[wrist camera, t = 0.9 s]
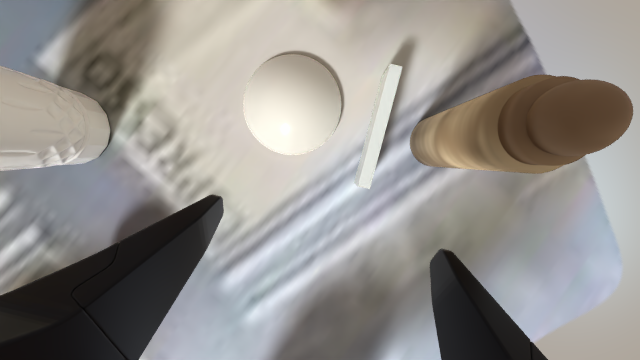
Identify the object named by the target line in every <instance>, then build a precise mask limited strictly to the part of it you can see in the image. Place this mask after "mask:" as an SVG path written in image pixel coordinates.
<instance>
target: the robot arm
mask: <svg viewBox="0 0 640 360" xmlns="http://www.w3.org/2000/svg"><path fill="white" fill-rule="evenodd" d="M223 212H224V209H223V199H222V197H221V196H217V195H209V196H207V197H205V198H203V199H201V200H200V201H198V202H196V203H194V204H192V205H190V206H188V207H186V208H184V209H182V210H180V211H178V212H176V213H174V214H172V215H170V216H168V217H166V218H165V219H163V220H161V221H159V222H157V223H155V224H153V225H151V226H149V227H147V228H145V229H143V230H141V231H139V232H137V233H135V234H133V235H131V236H129V237H128V238H126V239H124V240H122V241H120V243H116V244H114V245H112V246H110V247H108V248H106V249H104V250H102V251H100V252H98V253H96V254H94V255H92V256H90V257H88V258H86V259H83V260H81V261H79V262H77V263H75V264H72V265H70V266H68V267H66V268H63V269H61V270H59V271H57V272H54V273H52V274H50V275H47V276H45V277H43V278H41V279H38V280H36V281H34V282H31V283H29V284H27V285H25V286H22V287H20V288H18V289H15V290H13V291H11V292H8V293H6V294H3V295H1V296H0V360H139V358H140V356H141V355H142V353H143V352H144V350H145V348H146V347H147V345H148V343H149V342H150V340H151V339H152V337H153V335H154V334H155V332H156V331H157V329H158V327H159V326H160V324H161V322H162V321H163V319H164V318H165V316H166V314H167V313H168V311H169V310H170V308H171V306H172V305H173V303H174V301H175V300H176V298H177V297H178V295H179V293H180V292H181V290H182V289H183V287H184V285H185V284H186V282H187V280H188V279H189V277H190V276H191V274H192V272H193V271H194V269H195V268H196V266H197V264H198V263H199V261H200V259H201V258H202V256H203V255H204V253H205V251H206V250H207V248H208V246H209V244H210V242H211V239H212V237H213V235H214V233H215V231H216V229H217V227H218V225H219V223H220V220H221V218H222V216H223ZM430 277H431V295H432V305H433V312H434V318H435V324H436V330H437V336H438V342H439V348H440V354H441V360H548V359H547V358H546V357H545V356H544V355H543V354H542V353H541V351H540V350H539V349H538V348H537V347H536V346H535V345H534V343H533V342H530V339H529V338H528V337H527V336H526V335H525V333H524V332H523V331H522V330H521V329H520V328H519V327H518V325H517V324H516V323H515V322H514V321H513V320H512V319H511V318H510V316H509V315H508V314H507V313H506V312H505V311H504V310H503V309H502V307H501V306H500V305H499V304H498V303H497V302H496V301H495V299H494V298H493V297H492V296H491V295H490V294H489V293H488V292H487V290H486V289H485V288H484V287H483V286H482V285H481V284H480V282H479V281H478V280H477V279H476V278H475V277H474V276H473V275H472V273H471V272H470V271H469V270H468V269H467V268H466V267H465V266H464V264H463V263H462V262H461V261H460V260H459V259H458V258H457V256H456V255H455V254H454V253H453V252H452V251H449V250H445V249H440V250H439V251H438V252H437V253H436V255H435V256H434V257H433V259H432V260H431V262H430Z"/></svg>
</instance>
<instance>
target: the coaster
mask: <svg viewBox="0 0 640 360" xmlns="http://www.w3.org/2000/svg"><path fill="white" fill-rule="evenodd" d="M243 109H244V116H245V119H246V122H247V125H248V127H249V129H250V131H251V132H252V134H253V135H254V136H255V138H256V139H257V140H258V141H259V142H260V143H261V144H263V145H264V146H265V147H267V148H268V149H270V150H272V151H275V152H278V153H281V154H286V155H300V154H305V153H308V152H311V151H313V150H315V149H317V148H318V147H320V146H321V145H323V144H324V143H325V142H326V141H327V140H328V139H329V138H330V137H331V135H332V134H333V132H334V131H335V129H336V127H337V125H338V122H339V119H340V114H341V95H340V91H339V88H338V85H337V83H336V81H335V79H334V77H333V76H332V74H331V73H330V72H329V71H328V69H327V68H325V67H324V66H323V65H322V64H321V63H319V62H318V61H316V60H314V59H312V58H310V57H307V56H304V55H299V54H286V55H281V56H277V57H275V58H272V59H270V60H268V61H267V62H265V63H264V64H262V65H261V66H260V67H259V68H258V69H257V70H256V71H255V72H254V74H253V75H252V76H251V78H250V80H249V82H248V84H247V86H246V89H245V93H244V99H243Z"/></svg>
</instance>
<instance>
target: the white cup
mask: <svg viewBox="0 0 640 360" xmlns="http://www.w3.org/2000/svg"><path fill="white" fill-rule="evenodd" d="M109 136H110V126H109V122H108V117H107V114H106V113H105V112H104V110H103V109H102V108H101V106H100V105H99V104H98V102H97V101H95V100H93V99H92V98H90V97H88V96H86V95H84V94H83V93H80V92H77V91H73V90H70V89H67V88H64V87H60V86H58V85H56V84H53V83H51V82H48V81H45V80H42V79H39V78H36V77H32V76H30V75H27V74H24V73H21V72H19V71H16V70H13V69H10V68H7V67H4V66H0V171H5V170H17V169H26V168H41V167H48V166H54V165H67V164H84V163H86V162H89V161H91V160H93V159H95V158H98V157H99V156H100V154H101V153H102V152H103V151H104V149H105V148H106V147H107V145H108V141H109Z"/></svg>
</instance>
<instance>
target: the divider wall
mask: <svg viewBox="0 0 640 360" xmlns="http://www.w3.org/2000/svg"><path fill="white" fill-rule="evenodd" d="M401 71H402V66H398V65H394V64H390V65H389V66H388V68H387V69H386V71H385V72H384V74H383V75H382V77H381V81H380V85H379V89H378V93H377V96H376V100H375V104H374V108H373V112H372V115H371V119H370V123H369V127H368V131H367V135H366V138H365V142H364V146H363V150H362V154H361V157H360V161H359V165H358V169H357V173H356V176H355V180H354V183H355V184H356V185H357V186H359V187H363V188H367V189H370V186H371V182H372V179H373V175H374V171H375V168H376V164H377V160H378V156H379V153H380V149H381V145H382V142H383V138H384V134H385V130H386V127H387V123H388V119H389V116H390V112H391V108H392V104H393V101H394V97H395V93H396V90H397V86H398V82H399V78H400V75H401Z"/></svg>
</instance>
